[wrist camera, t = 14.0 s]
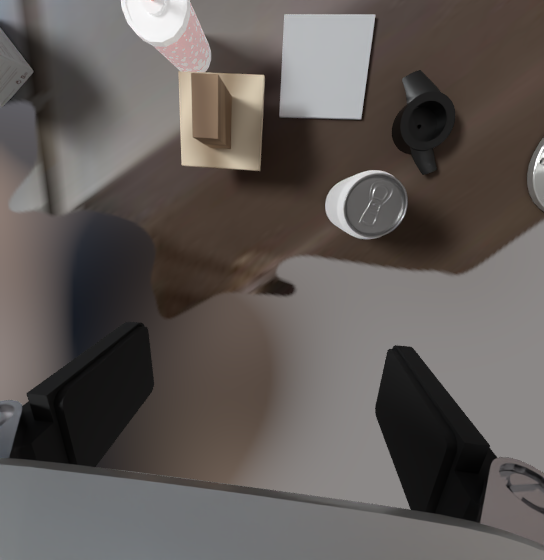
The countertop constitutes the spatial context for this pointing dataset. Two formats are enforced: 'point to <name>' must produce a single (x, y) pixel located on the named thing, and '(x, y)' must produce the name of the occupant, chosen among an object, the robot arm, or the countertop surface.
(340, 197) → the can
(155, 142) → the countertop surface
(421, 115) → the black winged knob
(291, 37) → the mat
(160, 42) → the beverage cup
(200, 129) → the lid
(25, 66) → the supplement box
